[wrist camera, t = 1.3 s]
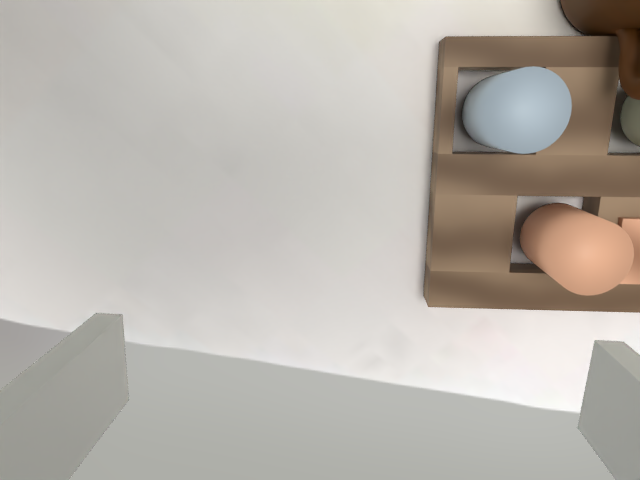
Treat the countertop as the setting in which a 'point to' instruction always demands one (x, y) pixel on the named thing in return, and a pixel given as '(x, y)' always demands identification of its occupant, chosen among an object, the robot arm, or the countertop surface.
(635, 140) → the pale green rounded cylinder
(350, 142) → the countertop surface
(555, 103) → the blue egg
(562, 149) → the wooden compartment tray
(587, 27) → the mug
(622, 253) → the peach rounded cylinder
